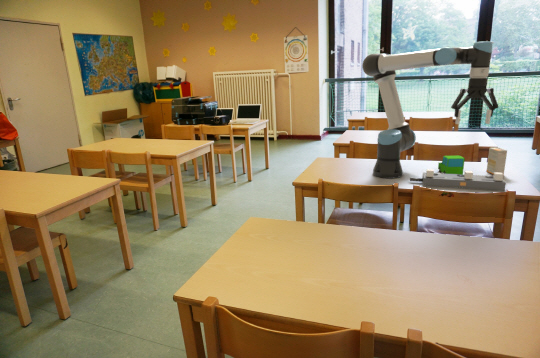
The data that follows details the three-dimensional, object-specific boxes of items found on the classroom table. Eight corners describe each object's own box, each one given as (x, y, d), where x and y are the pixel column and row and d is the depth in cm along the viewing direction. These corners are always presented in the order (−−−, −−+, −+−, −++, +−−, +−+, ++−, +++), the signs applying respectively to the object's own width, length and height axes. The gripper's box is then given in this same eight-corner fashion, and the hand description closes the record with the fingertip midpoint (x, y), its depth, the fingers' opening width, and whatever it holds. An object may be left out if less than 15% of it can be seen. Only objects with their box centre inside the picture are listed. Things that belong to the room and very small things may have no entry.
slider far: (494, 180, 165) (495, 174, 164) (493, 178, 168) (494, 172, 167) (502, 180, 164) (503, 174, 163) (500, 178, 167) (501, 172, 166)
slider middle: (465, 178, 169) (465, 172, 168) (464, 177, 172) (464, 170, 171) (472, 179, 168) (473, 172, 167) (471, 177, 171) (472, 171, 170)
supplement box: (504, 175, 186) (508, 150, 183) (494, 175, 187) (498, 150, 183) (495, 171, 194) (498, 147, 191) (485, 171, 194) (489, 147, 191)
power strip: (409, 185, 177) (410, 177, 176) (409, 179, 186) (410, 171, 185) (505, 191, 164) (507, 182, 163) (500, 184, 173) (501, 176, 172)
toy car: (454, 170, 199) (456, 152, 196) (464, 177, 186) (466, 158, 183) (435, 170, 200) (436, 152, 197) (443, 177, 187) (445, 158, 185)
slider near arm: (426, 176, 175) (427, 170, 174) (426, 175, 177) (426, 169, 176) (433, 177, 174) (433, 171, 173) (432, 175, 176) (433, 169, 175)
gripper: (453, 78, 165) (447, 125, 171) (511, 77, 162) (503, 124, 169) (447, 77, 172) (442, 122, 178) (503, 76, 169) (495, 122, 176)
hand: (472, 123), depth 173 cm, fingers open, 13 cm apart
